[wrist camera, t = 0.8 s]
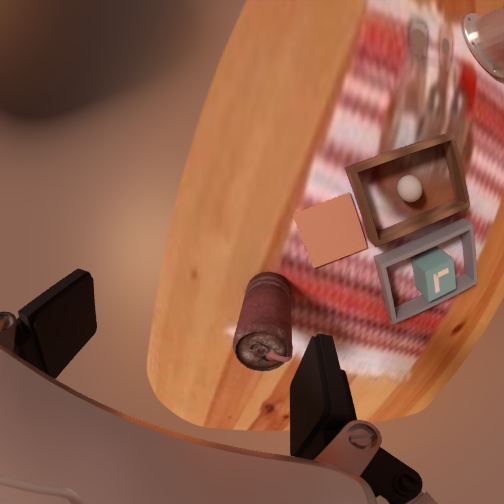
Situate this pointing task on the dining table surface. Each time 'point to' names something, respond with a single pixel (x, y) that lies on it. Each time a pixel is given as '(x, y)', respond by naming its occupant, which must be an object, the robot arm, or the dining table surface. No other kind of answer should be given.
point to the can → (264, 324)
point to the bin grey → (417, 247)
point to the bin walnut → (421, 219)
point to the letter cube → (434, 273)
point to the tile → (330, 230)
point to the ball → (409, 188)
